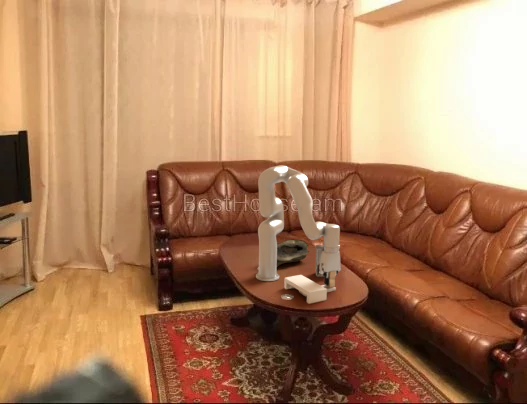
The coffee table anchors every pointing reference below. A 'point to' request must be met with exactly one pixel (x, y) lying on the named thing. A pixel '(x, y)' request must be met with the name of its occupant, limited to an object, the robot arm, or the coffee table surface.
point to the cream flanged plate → (306, 288)
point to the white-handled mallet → (329, 283)
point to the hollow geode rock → (291, 251)
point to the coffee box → (318, 259)
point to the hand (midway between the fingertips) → (329, 283)
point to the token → (287, 296)
